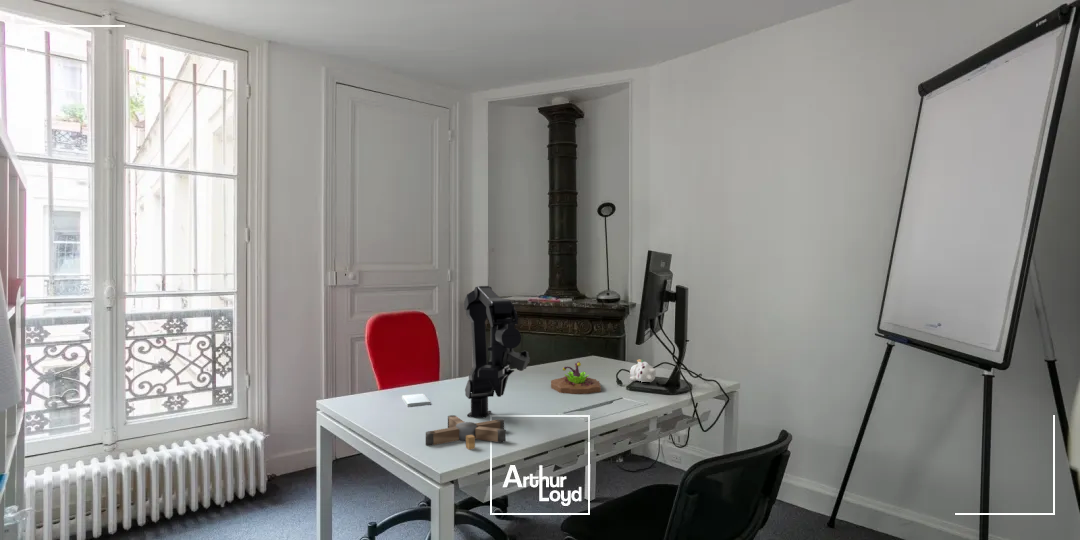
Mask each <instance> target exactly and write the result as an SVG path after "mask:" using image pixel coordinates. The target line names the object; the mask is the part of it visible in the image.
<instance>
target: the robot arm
mask: <svg viewBox="0 0 1080 540" xmlns="http://www.w3.org/2000/svg"><path fill="white" fill-rule="evenodd" d="M463 306H464V307H463V308H464V310H465V314H466V317H467V319H468V320H469V321H470V323H471V340H472V341H471V344H472V345H471V346H472V365H473V367H472V369H471V370H470V372H469V374H468V380H467V383H466V386H465V389H464V392H465V397H466V398H467V399H468V400H470V412H469V413H468V414H466V416H467V417H470V416H471V417H475V418H483V417H485V418H487V417H488V416H489V415H491V413H492V410H489V398H490V397H492V398H493V397H494V395H496V397H498V398H499V397H502V396H504V395H505V390H506V387H507V384H508V379H509V377H510V376H511V374H513V373H514V372H515V370H514V369H511V367H513V368H515V369H516V370H517V371H519V372H522V371H524V370H526V369H527V367H528V364H529V363H531V360H530V359H531V357H530V355H529V353H530V352H529V351H527V350H522V351H521V352H519V351H518V352H516V351H514V349H515V348H517V347H518V346H519V345H520V344H521V342H522V335H521V332H520V331H519V330H518V329H517V328H515V325H518V323H519V322H518V320H519V317H518V314H517V311H516V307H515V305H514V303H513V302H512V300H510V299H509V298H502V297H500V296H499V295H498V294H497V293H496V292H495V291H494V290H493V289H492V286H489V285H477V286H475V287H474V289H473V290H471V291H470V292H469V293H467V294H466V296H465V298H464V303H463ZM487 320H488V322H489V324H490V346H488V347H487V338H486V337H487V334H486V333H487V332H486V321H487ZM488 351H489V352H490V359H489V360H488V359H487V358H488V354H487V352H488ZM471 417H470V418H471Z"/></svg>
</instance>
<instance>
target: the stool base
mask: <svg viewBox="0 0 1080 540" xmlns="http://www.w3.org/2000/svg"><path fill="white" fill-rule="evenodd" d="M479 426H481V427H489V428H498V429H505V419H503V418H498V419H494V420H493V419H492V420H487V421H482V422H481V421H480V422H472V421H469V422H468V421H464V420H463V419H461V418H459V417H458V416H457V415H453V414H451V415H448V416H447V428H441V429H435V430H428V431H426V432H425V446H427V447H428V446H429V447H431V446H435V445H436V446H437V445H440V444H441V445H442V444H447V443H451V442H458V441H462V442H465V448H466V449H467V450H470V451H471V450H474V449H476V439H475V429H476V428H477V427H479Z"/></svg>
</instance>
